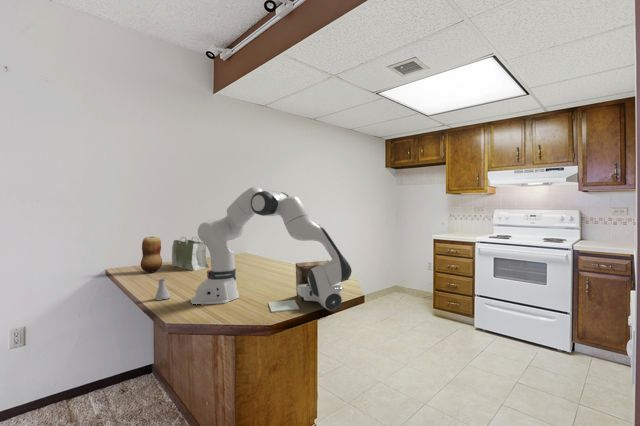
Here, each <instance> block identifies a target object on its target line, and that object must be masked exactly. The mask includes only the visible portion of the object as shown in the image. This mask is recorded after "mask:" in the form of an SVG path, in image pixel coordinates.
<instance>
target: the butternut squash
mask: <svg viewBox="0 0 640 426" xmlns="http://www.w3.org/2000/svg"><path fill="white" fill-rule="evenodd" d="M161 251H162V240H161V238H160V237H158V236H147V237H144V238H143V240H142V243H141V252H142V256H141V257H142V258H141V260H140V268H141V269H142V271H144V272H146V273H147V272H150V273H154V272H153V271H155V272H156V271H158V270H159V269H161V267H162V266H163V258H162V256H161Z"/></svg>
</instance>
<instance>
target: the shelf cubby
mask: <svg viewBox="0 0 640 426" xmlns="http://www.w3.org/2000/svg"><path fill="white" fill-rule="evenodd" d="M329 261H330V260H328V259H327V260H318V261H307V262H306V261H305V262H295V281H296V282H295V283H296V287H295V288H296V297H297V298H298V300H299V301H301V302H302V301H304V297H301V296H300V295H299V294H298V292H297V285H299V284H308V281H307V276H308V272H309V270H310V269H312V268H315V267H317V266H319V265H322V264H324V263H327V262H329Z"/></svg>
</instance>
